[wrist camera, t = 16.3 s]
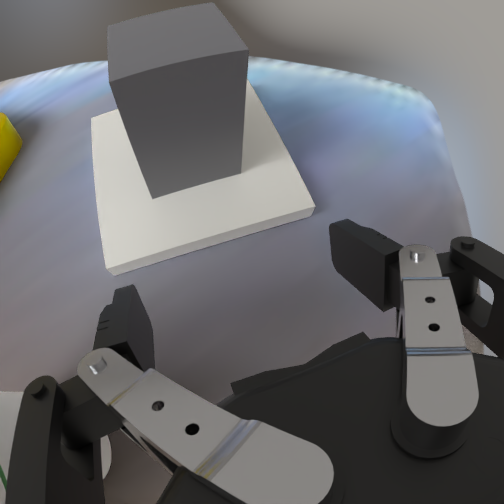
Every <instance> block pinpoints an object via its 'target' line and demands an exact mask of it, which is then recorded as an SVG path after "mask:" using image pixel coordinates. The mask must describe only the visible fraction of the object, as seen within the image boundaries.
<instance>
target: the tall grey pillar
mask: <svg viewBox="0 0 504 504" xmlns="http://www.w3.org/2000/svg"><path fill="white" fill-rule="evenodd" d="M107 41H108V42H107V43H108V44H107V45H108V72H109V83H110V86H111V89H112V92H113V95H114V98H115V101H116V104H117V107H118V110H119V113H120V116H121V119H122V121H123V124H124V127H125V130H126V132H127V135H128V138H129V141H130V143H131V146H132V149H133V151H134V154H135V157H136V159H137V162H138V164H139V167H140V170H141V172H142V175H143V177H144V180H145V182H146V185H147V187H148V190H149V192H150V195H151V197H152V199H155V198H158V197H161V196H164V195H168V194H171V193H174V192H177V191H181V190H184V189H187V188H191V187H194V186H198V185H201V184H205V183H208V182H212V181H215V180H219V179H223V178H226V177H230V176H234V175H237V174H241V167H242V149H243V133H244V116H245V100H246V85H247V70H248V56H249V55H248V54H249V49H248V48H247V46H246V45H245V43H244V42H243V41H242V39H241V38H240V37H239V35H238V34H237V33H236V31H235V30H234V28H233V27H232V26H231V24H230V23H229V22H228V21H227V19H226V18H225V17H224V15H223V14H222V13H221V12H220V10H219V9H218V8H217V6H216V5H215V4H214V3H213V2H212V3H205V4H198V5H192V6H187V7H181V8H176V9H171V10H166V11H162V12H157V13H153V14H149V15H145V16H141V17H137V18H133V19H130V20H127V21H123V22H120V23H116V24H113V25H110V26H108V27H107Z"/></svg>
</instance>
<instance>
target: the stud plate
mask: <svg viewBox="0 0 504 504" xmlns="http://www.w3.org/2000/svg"><path fill="white" fill-rule="evenodd" d="M91 131H92V153H93V169H94V181H95V192H96V201H97V210H98V218H99V226H100V233H101V240H102V247H103V253H104V259H105V265H106V269H107V270H108V271H109V272H110V273H111V274H112V275H114V276H116V275H119V274H122V273H125V272H128V271H132V270H135V269H138V268H141V267H144V266H148V265H151V264H154V263H157V262H160V261H164V260H167V259H170V258H173V257H177V256H180V255H183V254H186V253H190V252H193V251H196V250H199V249H203V248H206V247H209V246H213V245H216V244H219V243H223V242H226V241H229V240H232V239H236V238H239V237H243V236H246V235H249V234H253V233H256V232H259V231H263V230H266V229H269V228H273V227H276V226H280V225H283V224H287V223H290V222H293V221H297V220H300V219H304V218H307V217H311V215H312V213H313V210H314V208H315V204H314V202H313V200H312V198H311V196H310V194H309V192H308V190H307V188H306V186H305V184H304V182H303V180H302V178H301V176H300V174H299V172H298V170H297V168H296V166H295V164H294V162H293V160H292V158H291V156H290V154H289V152H288V151H287V149H286V147H285V145H284V143H283V141H282V139H281V137H280V136H279V134H278V132H277V130H276V128H275V126H274V125H273V123H272V121H271V119H270V117H269V116H268V114H267V112H266V110H265V108H264V107H263V105H262V103H261V101H260V100H259V98H258V96H257V94H256V93H255V91H254V89H253V87H252V86H251V84H250V82H249V81H248V79H247V85H246V100H245V116H244V133H243V149H242V167H241V174H237V175H234V176H230V177H226V178H223V179H219V180H215V181H212V182H208V183H205V184H201V185H198V186H194V187H191V188H187V189H184V190H181V191H177V192H174V193H171V194H168V195H164V196H161V197H158V198H155V199H152V197H151V195H150V192H149V190H148V187H147V185H146V182H145V180H144V177H143V175H142V172H141V170H140V167H139V164H138V162H137V159H136V157H135V154H134V151H133V149H132V146H131V143H130V141H129V138H128V135H127V132H126V130H125V127H124V124H123V121H122V119H121V116H120V113H119V110H118V109H116V110H113V111H110V112H107V113H104V114H101V115H98V116H96V117H93V118H91Z"/></svg>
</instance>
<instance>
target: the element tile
mask: <svg viewBox="0 0 504 504" xmlns="http://www.w3.org/2000/svg"><path fill="white" fill-rule="evenodd" d="M21 146H22V138H21V137H20V135H19V134H18V132H17V131H16V129H15V128H14V126H13V125H12V123H11V122H10V120H9V119H8V117H7V116H6V115H5V114H4V113H0V182H1V181H2V179H3V177H4V175H5V174H6V172H7V170H8V169H9V167H10V166H11V164H12V162H13V161H14V159H15V158H16V156H17V155H18V153H19V151H20V149H21Z"/></svg>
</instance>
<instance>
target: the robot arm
mask: <svg viewBox="0 0 504 504" xmlns="http://www.w3.org/2000/svg"><path fill="white" fill-rule="evenodd" d="M329 234H330V243H331V254H332V261H333V265H334V267H335V269H336V271H337V272H338V273H339V274H340V275H342V276H343V277H344V278H345V279H346V280H347V281H349V282H350V283H351V284H352V285H353V286H354V287H355V288H357V289H358V290H359V291H360V292H361V293H362V294H363V295H365V296H366V297H367V298H368V299H369V300H370V301H371V302H373V303H374V304H375V305H376V306H377V307H378V308H379V309H380V310H382V311H383V312H384V311H387V310H389V309H391V308H393V307H396V328H395V337H385V338H376V339H371V340H370V339H369V338H368V337H367V336H366V335H365V333H364V332H361V333H359V334H357V335H355V336H352V337H350V338H348V339H346V340H343V341H341V342H339V343H336V344H334V345H332V346H331V347H330V348H328V349H327V350H325V351H324V352H322V353H321V354H319V355H318V356H316V357H315V358H313V359H312V360H310V361H309V362H307V363H306V364H303V365H299V366H294V367H288V368H283V369H277V370H271V371H265V372H262V373H259V374H256V375H254V376H251V377H248V378H245V379H242V380H239V381H236V382H233V383H231V386H232V389H233V392H234V394H232V395H230V396H228V397H227V398H226V399H224V400H223V401H221V402H220V403H219V404H218V405H217V406H216V405H214V404H212V403H210V402H208V401H207V400H205V399H203V398H201V397H199V396H198V395H196V394H194V393H192V392H191V391H189V390H187V389H186V388H184V387H182V386H180V385H179V384H177V383H175V382H174V381H172V380H171V379H169V378H167V377H166V376H164V375H162V374H161V373H159V372H158V371H156V370H155V362H154V344H153V330H152V326H151V322H150V319H149V317H148V315H147V312H146V310H145V308H144V306H143V303H142V301H141V299H140V296H139V294H138V292H137V289H136V287H135V286H134V285H133V284H132V285H129V286H126V287H123V288H119V289H116V290H115V292H114V298H113V303H112V304H110V305H107V306H106V307H105V308H104V310H103V311H102V313H101V314H100V318H99V322H98V323H99V324H98V327H97V332H96V336H95V342H94V347H93V351H91V352H90V353H88V354H87V355H86V356H84V357H83V358H82V360H81V361H80V362H79V364H78V367H77V373H78V375H77V376H75V377H73V378H71V379H69V380H67V381H65V382H63V383H61V384H58V383H57V382H56V380H55V379H54V378H53V377H51V376H41V377H39V378H37V379H35V380H34V381H32V382H31V383H30V384H29V385H28V386H27V387H26V389H25V391H24V393H23V396H22V400H21V404H20V409H19V413H18V418H17V422H16V427H15V432H14V437H13V443H12V449H11V455H10V462H9V469H8V477H7V486H6V498H5V504H105V497H104V487H103V475H102V459H101V438H102V437H104V436H106V435H108V434H110V433H112V432H114V431H116V430H118V429H120V430H121V431H122V432H124V433H125V434H126V435H127V436H128V437H129V438H130V439H131V440H132V441H133V442H134V443H135V444H137V445H138V446H139V447H140V448H141V449H142V450H143V451H145V452H146V453H147V454H148V455H149V456H150V457H152V458H153V459H154V460H155V461H156V462H157V463H158V464H159V465H160V466H162V467H163V468H164V469H165V470H166V471H167V472H168V473H169V474H171V475H172V478H171V479H170V481H169V483H168V485H167V486H166V488H165V490H164V491H163V493H162V495H161V497H160V498H159V500H158V502H157V503H156V504H504V254H502V253H500V252H499V251H497V250H495V249H493V248H492V247H490V246H488V245H486V244H485V243H483V242H481V241H479V240H477V239H475V238H471V237H457V238H454V239H453V240H452V241H451V245H450V252H446V253H440V254H436V253H435V251H434V250H433V249H431V248H430V247H427V246H424V245H409V246H405V247H403V246H402V245H400V244H398V243H397V242H395V241H393V240H391V239H389V238H387V237H386V236H384V235H382V234H380V233H379V232H377V231H375V230H373V229H371V228H367V227H362V226H360V225H358V224H356V223H354V222H353V221H351V220H349V219H345V220H341V221H338V222H335V223H331V224H330V226H329ZM479 279H480V280H482V281H483V282H485V283H486V284H487V285H489V286H490V287H491V288H492V290H493V293H494V301H493V305H491V304H490V303H488V302H487V301H486V300H484V299H483V298H482V297H480V296H479V295H478V294H476V292H477V287H478V282H479ZM461 324H462V325H463V326H465V327H466V328H467V329H468V330H469V331H470V332H471V333H473V334H474V335H475V336H476V337H477V338H478V339H479V340H480V341H482V342H483V343H484V344H485V345H486V346H487V347H488V348H489V349H490V350H492V351H493V352H494V353H495V354H496V355H497V356H498V357H494V356H488V355H483V354H477V353H472V352H471V351H470V350H468V349H467V348H466V345H465V340H464V335H463V330H462V326H461Z"/></svg>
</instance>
